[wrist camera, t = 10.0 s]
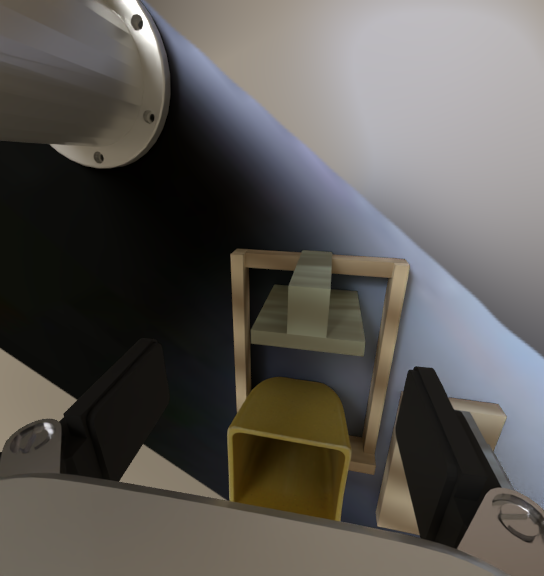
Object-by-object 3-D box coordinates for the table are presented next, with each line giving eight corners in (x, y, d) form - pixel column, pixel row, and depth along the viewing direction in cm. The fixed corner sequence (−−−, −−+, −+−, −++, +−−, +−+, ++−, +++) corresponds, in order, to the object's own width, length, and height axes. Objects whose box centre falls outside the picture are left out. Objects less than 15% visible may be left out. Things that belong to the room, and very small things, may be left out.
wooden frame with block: (237, 246, 26) (198, 278, 19) (405, 256, 24) (435, 297, 16) (242, 426, 34) (217, 499, 26) (370, 447, 31) (381, 533, 24)
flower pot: (256, 355, 30) (225, 427, 22) (348, 367, 28) (352, 450, 20) (255, 423, 33) (229, 509, 25) (338, 438, 32) (338, 533, 24)
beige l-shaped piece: (401, 391, 28) (430, 491, 20) (498, 404, 27) (575, 518, 18) (375, 511, 35) (388, 627, 26) (452, 527, 33) (493, 655, 25)
